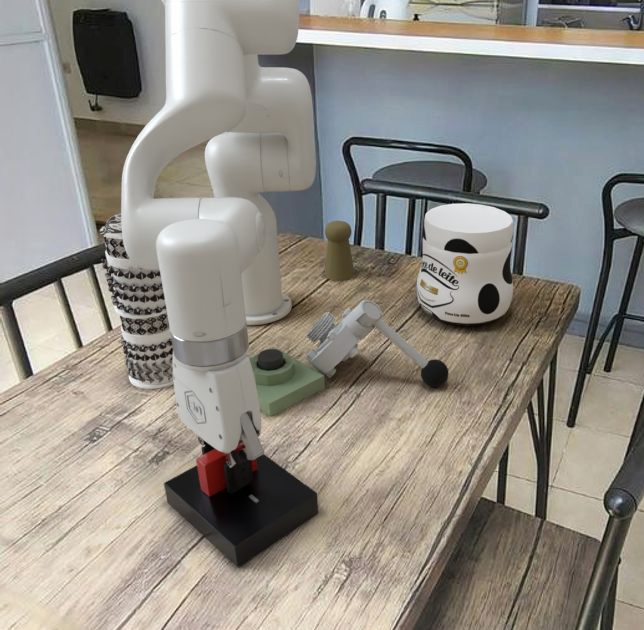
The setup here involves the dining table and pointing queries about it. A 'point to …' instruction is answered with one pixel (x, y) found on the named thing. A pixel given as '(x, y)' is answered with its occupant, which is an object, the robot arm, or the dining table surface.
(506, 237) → the milk container
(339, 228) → the olive brown pawn
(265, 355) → the stop button
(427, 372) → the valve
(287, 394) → the button housing
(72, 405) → the dining table surface
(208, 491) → the tap handle
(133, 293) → the decorative candle
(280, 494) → the base
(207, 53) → the robot arm
